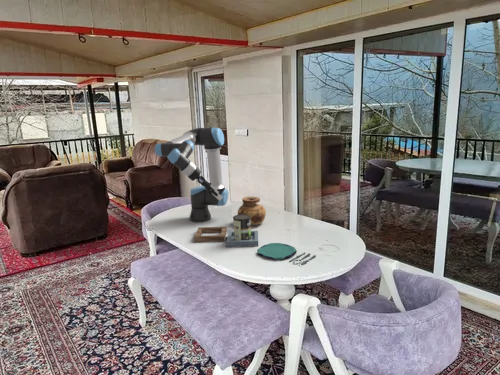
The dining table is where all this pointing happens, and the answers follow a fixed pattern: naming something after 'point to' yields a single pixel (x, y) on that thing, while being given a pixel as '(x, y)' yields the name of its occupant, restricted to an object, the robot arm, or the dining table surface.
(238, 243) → the tray
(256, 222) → the clay pot
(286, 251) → the cutlery set
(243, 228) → the coffee can
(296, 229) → the dining table surface
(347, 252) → the dining table surface
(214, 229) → the wooden square frame
